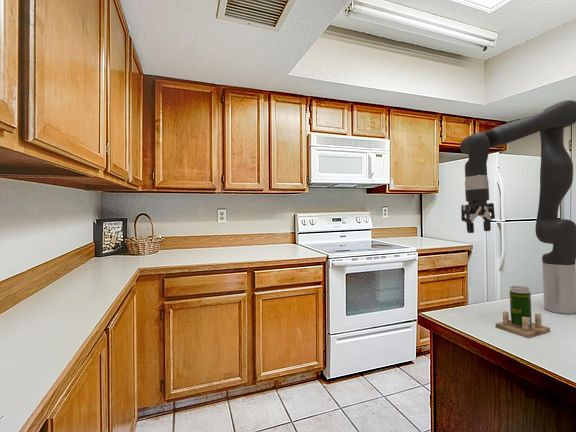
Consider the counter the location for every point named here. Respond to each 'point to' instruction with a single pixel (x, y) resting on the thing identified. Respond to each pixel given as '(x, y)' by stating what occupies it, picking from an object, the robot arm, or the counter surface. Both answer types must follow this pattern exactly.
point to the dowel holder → (523, 326)
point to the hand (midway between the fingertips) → (479, 232)
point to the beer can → (520, 305)
